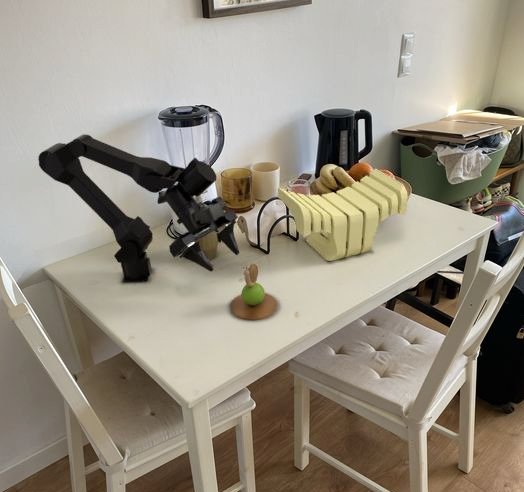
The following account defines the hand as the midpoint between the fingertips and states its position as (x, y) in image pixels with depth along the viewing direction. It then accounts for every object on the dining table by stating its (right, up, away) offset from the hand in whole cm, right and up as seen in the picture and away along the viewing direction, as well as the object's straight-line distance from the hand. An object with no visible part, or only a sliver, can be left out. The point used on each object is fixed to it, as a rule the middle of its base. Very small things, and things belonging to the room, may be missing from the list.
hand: (225, 262), depth 121 cm
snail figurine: (+6, -10, +1) cm, 12 cm away
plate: (+7, -10, +1) cm, 12 cm away
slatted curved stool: (+30, +6, +24) cm, 39 cm away
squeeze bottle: (-7, +4, +23) cm, 25 cm away
